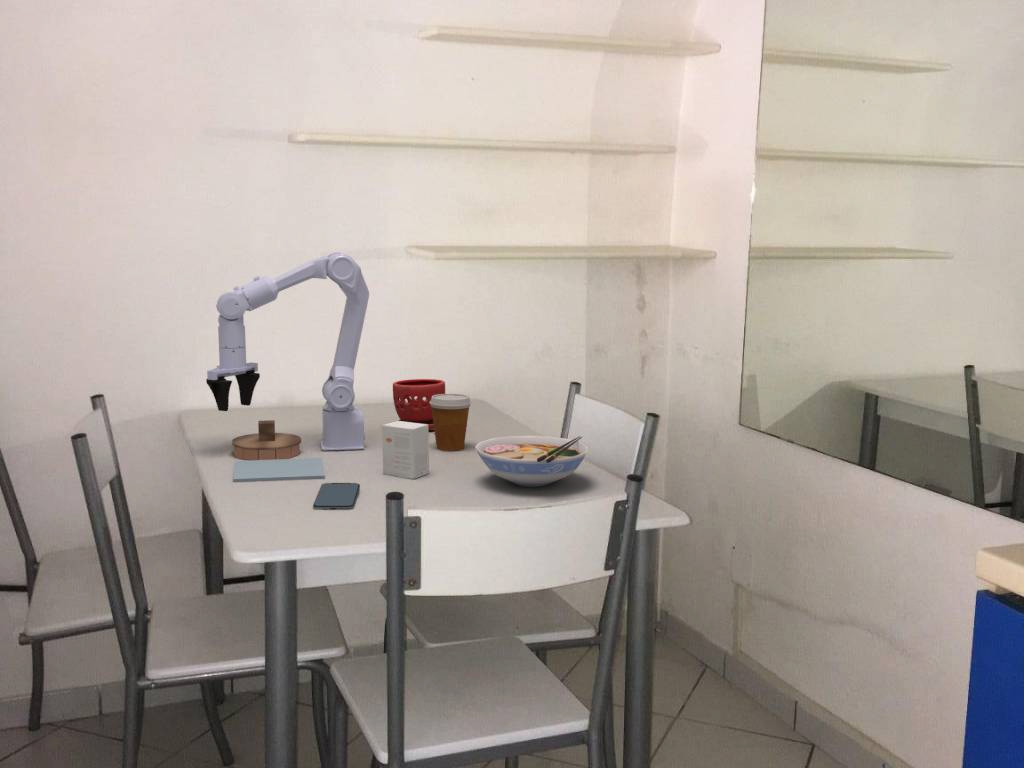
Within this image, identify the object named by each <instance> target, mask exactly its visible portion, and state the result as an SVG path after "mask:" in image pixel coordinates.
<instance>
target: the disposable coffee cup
mask: <svg viewBox="0 0 1024 768" xmlns="http://www.w3.org/2000/svg"><path fill="white" fill-rule="evenodd" d="M430 404H431V407H432V414H433V422H434V430H433V431H434V438H435V446H436V450H439V451H443V452H455V451H456V452H457V451H462V450H463V449H465V441H466V433H467V426H468V421H469V420H468V419H469V412H470V411H469V410H470V407H471V404H472V401H471V400H470V396H469V395H467V394H460V393H445V394H438V395H434V396H432V398H431V401H430Z"/></svg>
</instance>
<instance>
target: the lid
mask: <svg viewBox="0 0 1024 768" xmlns="http://www.w3.org/2000/svg"><path fill="white" fill-rule="evenodd" d="M275 425H276V423H275V419H272V420H271V419H269V420H268V419H267V420H258V432H257V433H251V434H244V435H239V436H236V437H234V438H233V439H232V440H231V444H232V446H233V447H234V446H235V447H238V448H243V449H253V450H269V449H281V448H288V447H292V446H296V445H298V444H299V445H300V444H301V443H302V437H301V436H299V435H296V434H294V433H293V434H292V433H284V432H276V428H275V427H276V426H275Z"/></svg>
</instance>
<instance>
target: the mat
mask: <svg viewBox="0 0 1024 768" xmlns="http://www.w3.org/2000/svg"><path fill="white" fill-rule="evenodd" d="M234 463H235V464H234V470H233V477H232V482H233V483H239V482H240V483H243V482H244V483H245V482H267V481H268V482H269V481H292V480H317V479H318V480H319V479H320V480H321V479H325V478H326V474H325V469H324V463H323V458H322V457H311V458H309V457H307V458H286V459H276V460H235V462H234Z"/></svg>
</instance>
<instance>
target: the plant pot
mask: <svg viewBox="0 0 1024 768" xmlns="http://www.w3.org/2000/svg"><path fill="white" fill-rule="evenodd" d="M438 394H446V382H445V381H444V380H443V379H435V378H433V379H432V378H412V379H402V380H398V381H395V382H393V383H392V398H393V403H394V409H395V412H396V414H397V416H398V420H397V421H404V422H412V423H420V424H428V432H429V431H430V430H431V431H434V422H433V414H432V407H431V404H430V401H431V398H432V396H434V395H438ZM415 397H416V398H415ZM423 398H425V400H424V399H423ZM406 400H407V401H406Z"/></svg>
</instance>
